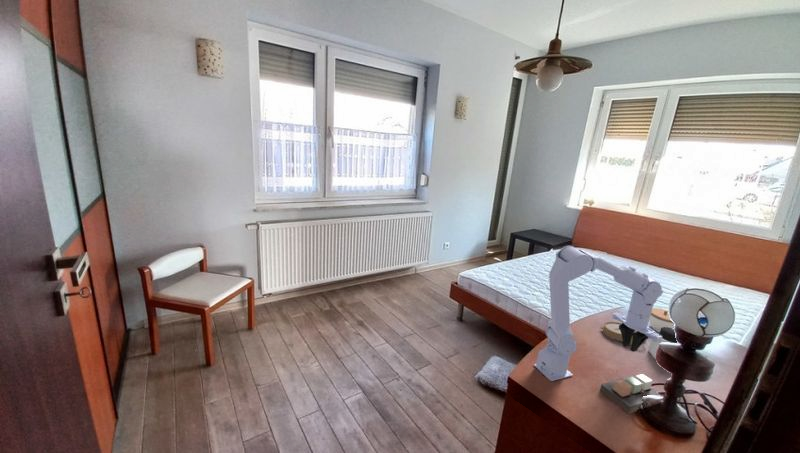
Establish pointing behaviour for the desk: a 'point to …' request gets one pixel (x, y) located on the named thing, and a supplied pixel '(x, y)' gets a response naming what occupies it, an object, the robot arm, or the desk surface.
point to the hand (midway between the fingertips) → (629, 348)
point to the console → (626, 402)
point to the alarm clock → (615, 331)
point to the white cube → (644, 381)
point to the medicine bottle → (663, 339)
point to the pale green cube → (634, 384)
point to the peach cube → (622, 388)
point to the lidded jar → (660, 319)
